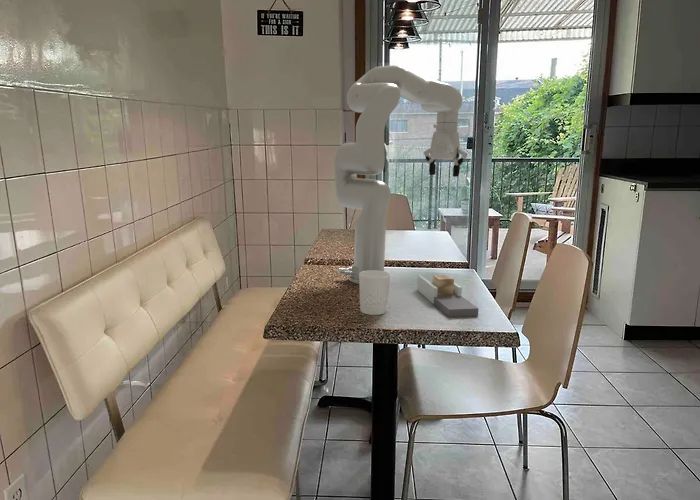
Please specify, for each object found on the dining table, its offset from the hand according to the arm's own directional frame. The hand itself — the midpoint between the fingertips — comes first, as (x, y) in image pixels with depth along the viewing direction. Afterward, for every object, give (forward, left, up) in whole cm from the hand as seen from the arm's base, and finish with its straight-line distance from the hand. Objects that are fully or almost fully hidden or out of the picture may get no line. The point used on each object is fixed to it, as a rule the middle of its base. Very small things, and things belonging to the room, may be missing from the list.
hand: (443, 175), depth 198 cm
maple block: (-18, -51, -29) cm, 62 cm away
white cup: (-40, -59, -32) cm, 78 cm away
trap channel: (-18, -54, -31) cm, 65 cm away
